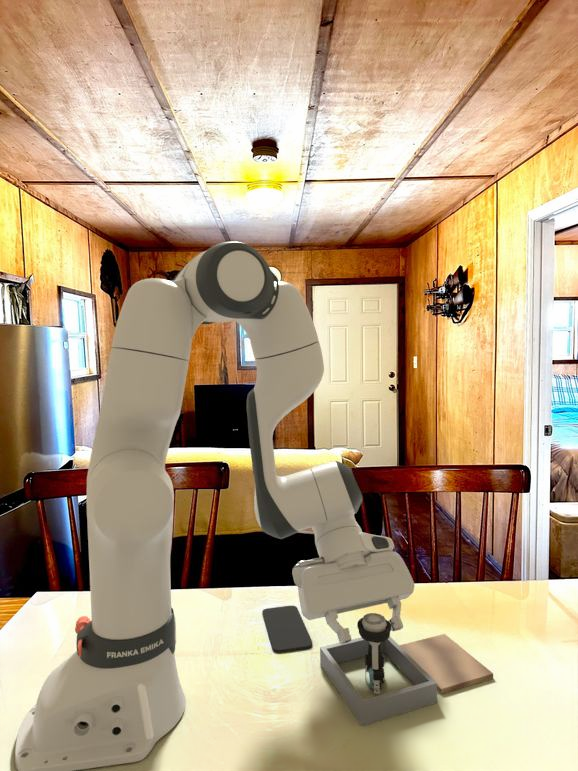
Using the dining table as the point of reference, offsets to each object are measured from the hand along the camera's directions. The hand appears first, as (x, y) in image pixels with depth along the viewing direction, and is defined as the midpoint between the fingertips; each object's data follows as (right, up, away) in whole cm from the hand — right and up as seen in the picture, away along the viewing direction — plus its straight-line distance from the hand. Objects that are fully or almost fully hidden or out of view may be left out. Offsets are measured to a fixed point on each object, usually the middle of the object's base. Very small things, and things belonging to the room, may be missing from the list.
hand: (372, 635), depth 76 cm
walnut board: (+13, -7, +4) cm, 15 cm away
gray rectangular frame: (0, -7, -1) cm, 7 cm away
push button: (0, -7, -1) cm, 7 cm away
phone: (-14, -7, +16) cm, 22 cm away
